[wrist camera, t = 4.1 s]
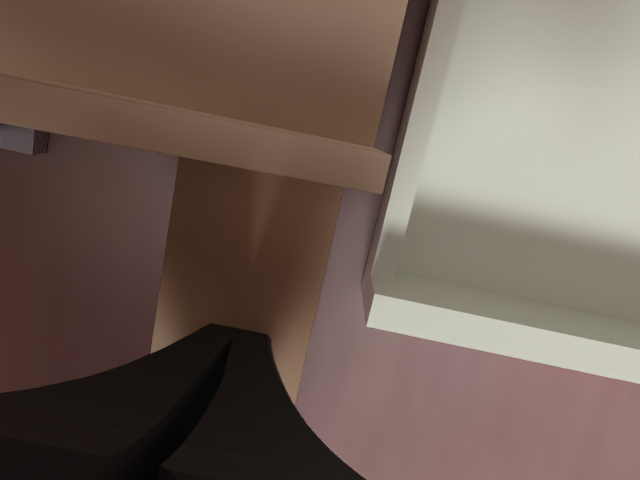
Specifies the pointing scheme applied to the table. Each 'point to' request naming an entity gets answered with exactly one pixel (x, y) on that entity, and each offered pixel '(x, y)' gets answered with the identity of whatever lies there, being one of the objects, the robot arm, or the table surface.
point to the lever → (221, 135)
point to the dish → (518, 186)
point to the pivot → (23, 139)
